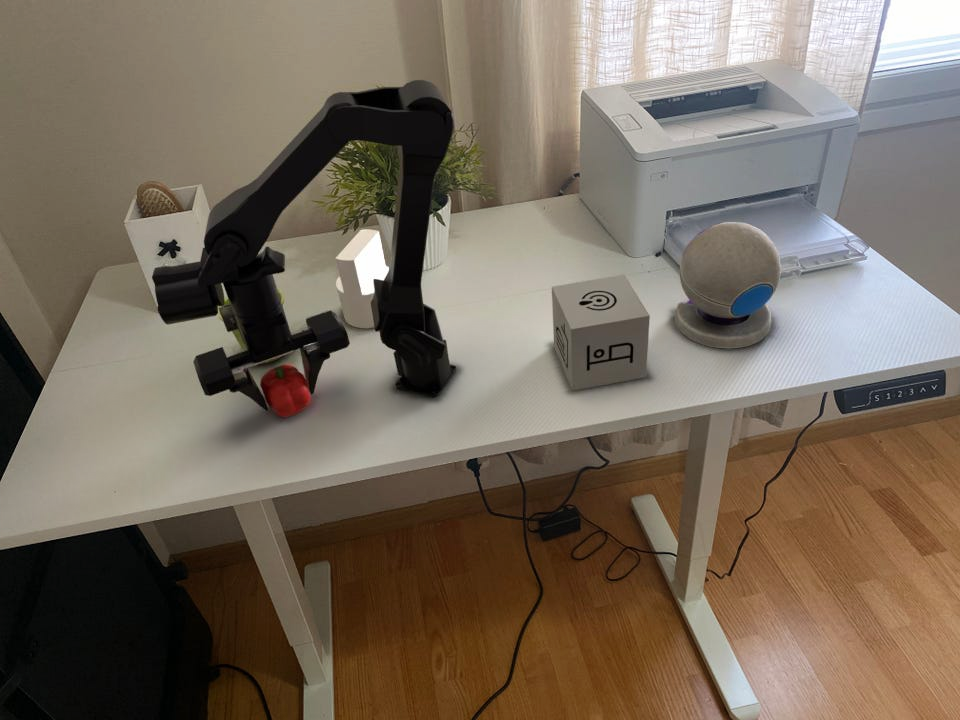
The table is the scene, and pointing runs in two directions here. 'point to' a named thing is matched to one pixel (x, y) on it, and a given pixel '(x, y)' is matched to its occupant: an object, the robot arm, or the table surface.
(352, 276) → the cylinder with rectangular tab
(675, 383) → the table surface
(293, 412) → the pepper
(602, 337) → the icon cube
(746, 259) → the webcam
